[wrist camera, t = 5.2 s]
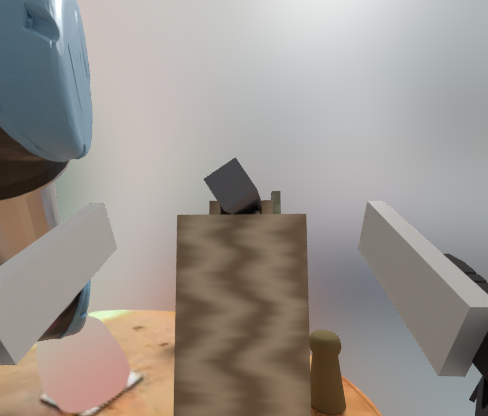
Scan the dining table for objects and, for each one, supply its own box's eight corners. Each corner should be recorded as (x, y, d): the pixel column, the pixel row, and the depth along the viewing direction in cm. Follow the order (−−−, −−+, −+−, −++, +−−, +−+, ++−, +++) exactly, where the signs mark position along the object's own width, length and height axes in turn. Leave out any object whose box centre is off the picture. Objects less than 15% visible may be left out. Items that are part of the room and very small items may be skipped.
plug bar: (224, 210, 23) (203, 179, 23) (248, 220, 47) (238, 204, 47) (256, 189, 23) (235, 157, 23) (264, 210, 47) (253, 194, 47)
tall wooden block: (171, 515, 26) (178, 178, 29) (201, 415, 40) (203, 195, 43) (313, 522, 25) (305, 177, 28) (293, 417, 39) (288, 194, 42)
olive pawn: (345, 419, 39) (342, 342, 40) (304, 408, 41) (303, 336, 42) (346, 395, 44) (344, 329, 45) (310, 387, 47) (309, 324, 48)
